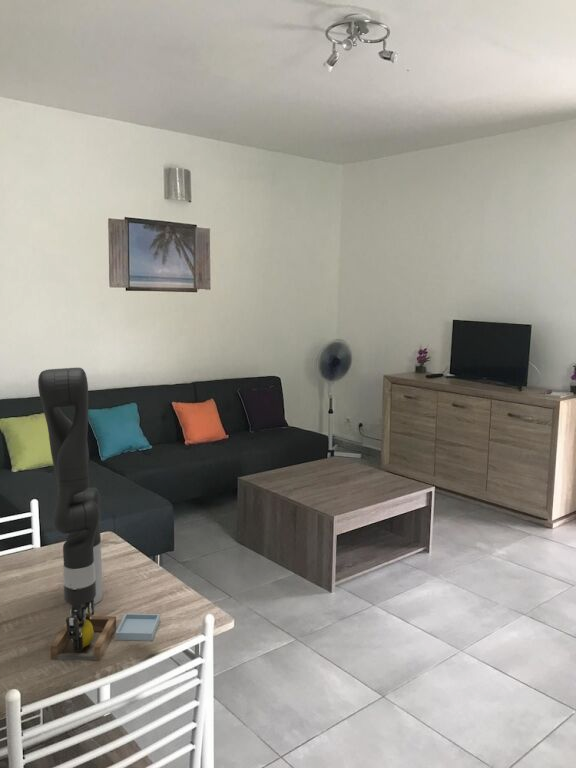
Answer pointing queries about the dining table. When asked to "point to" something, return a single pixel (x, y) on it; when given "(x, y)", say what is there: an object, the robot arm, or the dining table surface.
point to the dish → (138, 627)
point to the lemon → (87, 633)
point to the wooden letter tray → (108, 629)
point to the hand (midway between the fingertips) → (82, 642)
